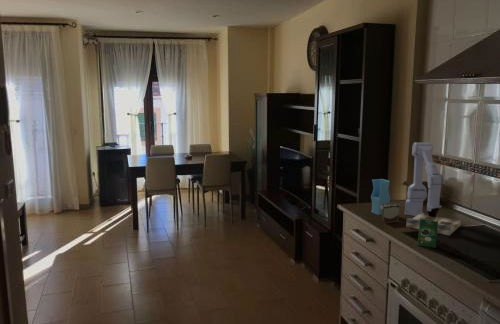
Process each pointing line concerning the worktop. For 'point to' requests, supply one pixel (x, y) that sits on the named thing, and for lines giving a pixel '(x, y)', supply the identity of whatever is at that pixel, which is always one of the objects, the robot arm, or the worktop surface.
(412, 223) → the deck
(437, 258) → the worktop surface
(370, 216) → the worktop surface
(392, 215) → the food container
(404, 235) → the worktop surface
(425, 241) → the coffee box
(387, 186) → the vase
